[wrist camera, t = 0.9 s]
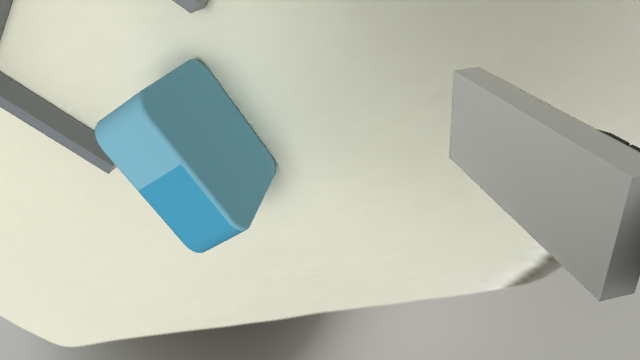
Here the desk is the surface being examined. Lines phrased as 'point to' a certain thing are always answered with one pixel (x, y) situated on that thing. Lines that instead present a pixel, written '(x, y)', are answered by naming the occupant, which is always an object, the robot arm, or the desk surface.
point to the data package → (190, 156)
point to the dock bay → (50, 117)
